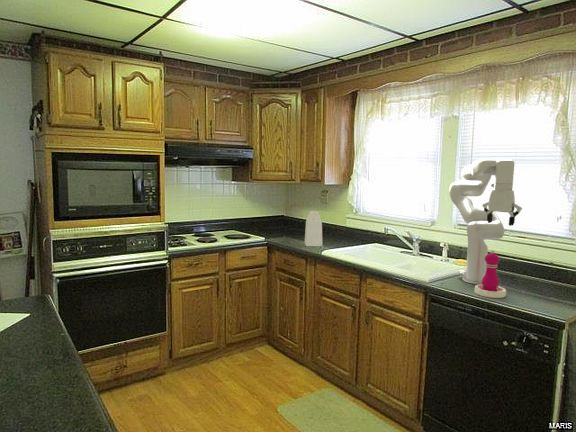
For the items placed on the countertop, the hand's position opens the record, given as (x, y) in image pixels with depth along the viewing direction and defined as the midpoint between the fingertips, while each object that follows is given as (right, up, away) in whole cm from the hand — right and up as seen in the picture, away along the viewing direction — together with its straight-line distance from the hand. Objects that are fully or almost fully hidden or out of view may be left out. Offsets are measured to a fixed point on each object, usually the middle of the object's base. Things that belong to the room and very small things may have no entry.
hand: (500, 224), depth 190 cm
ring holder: (-4, -33, +2) cm, 33 cm away
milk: (-80, -19, +113) cm, 140 cm away
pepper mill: (-4, -32, +2) cm, 33 cm away
